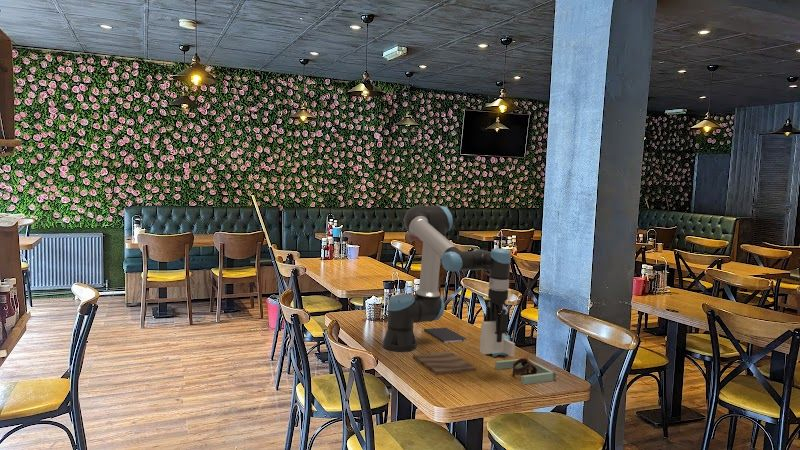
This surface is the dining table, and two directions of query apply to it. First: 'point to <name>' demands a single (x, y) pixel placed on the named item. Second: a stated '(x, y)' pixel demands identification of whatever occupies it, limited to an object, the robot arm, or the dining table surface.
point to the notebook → (445, 335)
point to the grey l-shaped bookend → (488, 340)
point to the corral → (543, 375)
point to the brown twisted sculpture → (524, 367)
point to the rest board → (443, 363)
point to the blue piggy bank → (502, 352)
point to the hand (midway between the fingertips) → (494, 348)
